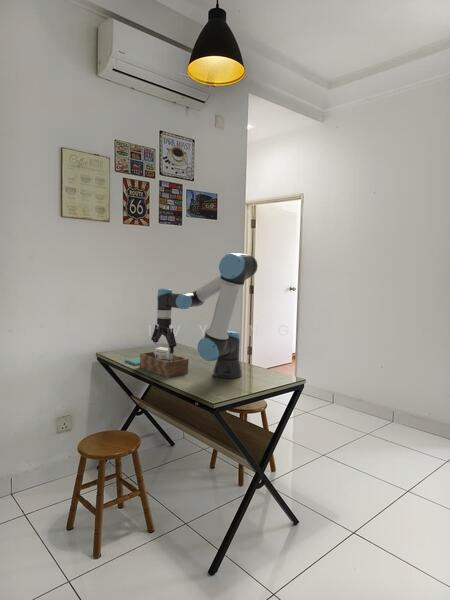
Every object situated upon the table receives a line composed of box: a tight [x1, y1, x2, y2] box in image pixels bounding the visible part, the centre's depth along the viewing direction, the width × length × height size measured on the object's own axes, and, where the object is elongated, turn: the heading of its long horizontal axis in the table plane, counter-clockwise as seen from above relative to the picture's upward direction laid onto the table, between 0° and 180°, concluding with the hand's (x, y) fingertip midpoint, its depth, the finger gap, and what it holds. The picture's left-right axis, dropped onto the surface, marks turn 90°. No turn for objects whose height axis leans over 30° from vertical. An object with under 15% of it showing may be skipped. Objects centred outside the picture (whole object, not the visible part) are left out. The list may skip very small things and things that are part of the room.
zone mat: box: [124, 356, 140, 366], centre depth 241 cm, size 12×12×1 cm
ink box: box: [155, 346, 172, 362], centre depth 225 cm, size 9×5×12 cm, turn 62°
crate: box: [139, 351, 189, 378], centre depth 225 cm, size 26×14×8 cm, turn 43°
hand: (163, 356), depth 225 cm, fingers open, 13 cm apart
